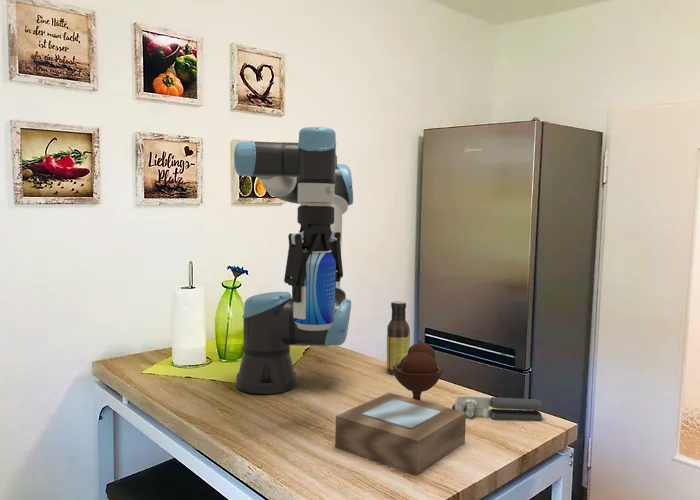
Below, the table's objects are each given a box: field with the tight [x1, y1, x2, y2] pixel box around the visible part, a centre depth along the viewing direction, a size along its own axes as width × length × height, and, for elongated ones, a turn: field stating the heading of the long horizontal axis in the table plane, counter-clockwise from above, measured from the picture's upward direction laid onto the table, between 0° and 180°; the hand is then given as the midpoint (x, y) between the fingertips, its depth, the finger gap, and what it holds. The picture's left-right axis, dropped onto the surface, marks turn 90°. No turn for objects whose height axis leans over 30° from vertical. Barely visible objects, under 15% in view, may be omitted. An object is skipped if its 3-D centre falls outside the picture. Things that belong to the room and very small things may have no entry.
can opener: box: [451, 394, 544, 422], centre depth 127 cm, size 19×6×5 cm, turn 84°
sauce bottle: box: [386, 300, 411, 377], centre depth 157 cm, size 6×6×20 cm
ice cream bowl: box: [393, 342, 443, 401], centre depth 130 cm, size 11×11×15 cm
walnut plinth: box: [334, 392, 467, 476], centre depth 111 cm, size 18×18×6 cm
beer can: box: [294, 250, 336, 331], centre depth 119 cm, size 8×8×16 cm
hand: (314, 314), depth 119 cm, fingers closed on beer can, 8 cm apart
